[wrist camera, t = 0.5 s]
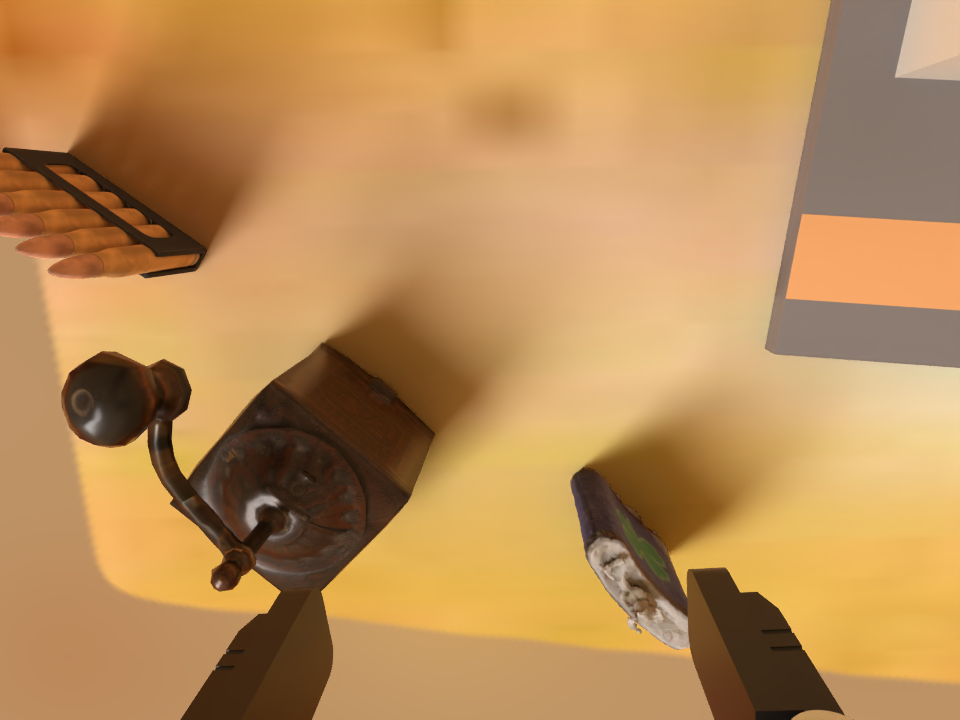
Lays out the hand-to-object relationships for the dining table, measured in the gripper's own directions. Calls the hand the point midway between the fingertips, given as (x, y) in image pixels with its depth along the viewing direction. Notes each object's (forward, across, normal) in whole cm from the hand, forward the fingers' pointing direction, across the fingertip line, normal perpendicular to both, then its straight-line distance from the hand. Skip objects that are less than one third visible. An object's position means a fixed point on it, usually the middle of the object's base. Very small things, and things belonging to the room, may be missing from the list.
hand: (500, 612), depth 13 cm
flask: (+27, -6, +14) cm, 31 cm away
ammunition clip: (+28, +24, -10) cm, 38 cm away
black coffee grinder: (+27, +15, +4) cm, 31 cm away
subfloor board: (+27, -25, -7) cm, 38 cm away
